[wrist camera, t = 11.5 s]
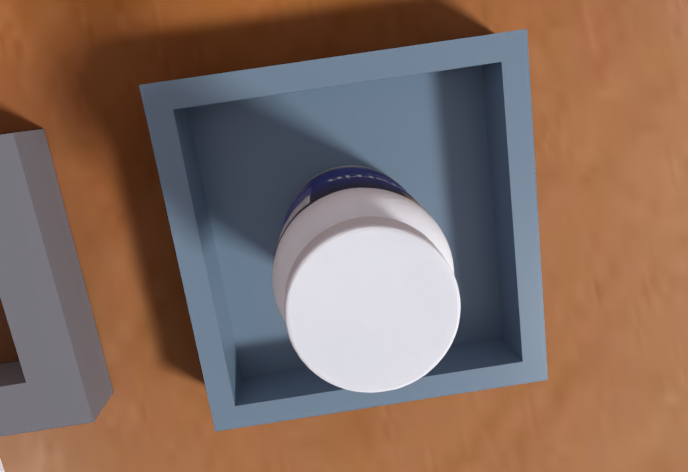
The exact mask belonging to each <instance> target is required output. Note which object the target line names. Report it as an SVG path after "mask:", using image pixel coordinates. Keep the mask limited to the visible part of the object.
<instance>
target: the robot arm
mask: <svg viewBox="0 0 688 472" xmlns="http://www.w3.org/2000/svg"><path fill="white" fill-rule="evenodd" d="M0 472H4V468H3V465H2V462H1V459H0Z"/></svg>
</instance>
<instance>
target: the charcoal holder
mask: <svg viewBox="0 0 688 472" xmlns="http://www.w3.org/2000/svg"><path fill="white" fill-rule="evenodd" d="M0 298H1V302H2V305H3V308H4V311H5V315H6V318H7V321H8V325H9V328H10V331H11V334H12V338H13V341H14V344H15V348H16V351H17V354H18V357H19V361H15V362H8V363H2V364H0V436H7V435H13V434H20V433H26V432H33V431H39V430H45V429H52V428H58V427H65V426H71V425H78V424H84V423H91V422H94V421H95V419H96V418H97V416H98V415H99V413H100V412H101V410H102V409H103V407H104V406H105V404H106V403H107V401H108V400H109V398H110V397H111V395H112V394H113V388H112V384H111V380H110V377H109V373H108V369H107V365H106V362H105V358H104V354H103V350H102V346H101V343H100V339H99V335H98V331H97V328H96V324H95V320H94V316H93V312H92V309H91V305H90V301H89V297H88V294H87V290H86V286H85V282H84V278H83V275H82V271H81V267H80V263H79V260H78V256H77V252H76V248H75V244H74V241H73V237H72V233H71V229H70V226H69V222H68V218H67V214H66V210H65V207H64V203H63V199H62V195H61V192H60V188H59V184H58V180H57V176H56V173H55V169H54V165H53V161H52V158H51V154H50V150H49V146H48V142H47V139H46V135H45V131H44V129H39V130H31V131H23V132H16V133H8V134H1V135H0Z"/></svg>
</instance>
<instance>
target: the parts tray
mask: <svg viewBox="0 0 688 472" xmlns="http://www.w3.org/2000/svg"><path fill="white" fill-rule="evenodd" d="M139 88H140V92H141V97H142V101H143V106H144V110H145V115H146V119H147V124H148V129H149V133H150V138H151V142H152V147H153V151H154V156H155V160H156V165H157V169H158V174H159V178H160V183H161V187H162V192H163V196H164V201H165V206H166V210H167V215H168V219H169V224H170V228H171V233H172V237H173V242H174V246H175V251H176V255H177V260H178V264H179V269H180V273H181V278H182V283H183V287H184V292H185V296H186V301H187V305H188V310H189V314H190V319H191V323H192V328H193V332H194V337H195V341H196V346H197V350H198V355H199V360H200V364H201V369H202V373H203V378H204V382H205V387H206V391H207V396H208V400H209V405H210V409H211V414H212V418H213V423H214V427H215V431H221V430H228V429H234V428H241V427H247V426H254V425H260V424H266V423H273V422H279V421H286V420H292V419H299V418H305V417H311V416H318V415H324V414H331V413H337V412H344V411H350V410H356V409H363V408H369V407H376V406H382V405H389V404H395V403H401V402H408V401H414V400H421V399H427V398H434V397H440V396H446V395H453V394H459V393H466V392H472V391H479V390H485V389H491V388H498V387H504V386H511V385H517V384H524V383H530V382H536V381H543V380H548V374H547V357H546V340H545V323H544V307H543V290H542V273H541V256H540V239H539V223H538V206H537V189H536V172H535V155H534V139H533V122H532V105H531V88H530V71H529V55H528V38H527V29H524V30H517V31H510V32H503V33H496V34H489V35H482V36H475V37H468V38H461V39H454V40H447V41H440V42H433V43H426V44H420V45H413V46H406V47H399V48H392V49H385V50H378V51H371V52H364V53H357V54H350V55H343V56H336V57H329V58H322V59H316V60H309V61H302V62H295V63H288V64H281V65H274V66H267V67H260V68H253V69H246V70H239V71H232V72H225V73H218V74H212V75H205V76H198V77H191V78H184V79H177V80H170V81H163V82H156V83H149V84H142V85H139ZM348 165H355V166H364V167H369V168H372V169H375V170H378V171H381V172H383V173H384V174H386V175H388V176H389V177H391V178H392V179H394V180H395V181H396V182H397V183H398V184H400V185H401V186H402V187H403V188H404V189H405V190H406V191H407V192H408V193H409V194H410V195H411V196H412V197H413V198H414V199H415V200H416V201H417V202H418V203H419V204H420V205H421V206H422V207H423V208H424V209H425V210H426V211H427V212H428V213H429V214H430V215H431V216H432V218H433V219H434V220H435V221H436V223H437V224H438V226H439V227H440V229H441V230H442V232H443V234H444V236H445V238H446V240H447V242H448V245H449V247H450V250H451V254H452V258H453V265H454V276H455V279H456V281H457V285H458V289H459V294H460V304H461V309H460V319H459V325H458V329H457V332H456V335H455V337H454V340H453V342H452V344H451V346H450V348H449V349H448V351H447V352H446V354H445V355H444V357H443V358H442V359H441V360H440V362H439V363H438V364H437V365H436V366H435V367H434V368H433V369H432V370H430V371H429V372H428V373H427V374H426V375H424V376H423V377H421V378H420V379H418V380H416V381H414V382H413V383H411V384H408V385H406V386H404V387H401V388H399V389H395V390H390V391H384V392H374V393H368V392H356V391H350V390H346V389H343V388H340V387H337V386H335V385H333V384H331V383H329V382H327V381H325V380H323V379H322V378H320V377H319V376H317V375H316V374H315V373H314V372H313V371H311V370H310V369H309V368H308V367H307V366H306V364H305V363H304V362H303V361H302V360H301V359H300V357H299V356H298V354H297V353H296V351H295V350H294V348H293V346H292V344H291V341H290V339H289V336H288V332H287V329H286V324H285V321H284V320H283V318H282V316H281V314H280V312H279V309H278V307H277V304H276V301H275V297H274V292H273V285H272V273H273V262H274V256H275V252H276V249H277V245H278V242H279V238H280V234H281V230H282V227H283V223H284V219H285V216H286V213H287V210H288V208H289V206H290V203H291V202H292V200H293V198H294V197H295V195H296V194H297V192H298V191H299V190H300V189H301V188H302V187H303V186H304V185H305V184H306V183H307V182H308V181H309V180H310V179H312V178H313V177H315V176H316V175H318V174H320V173H322V172H324V171H326V170H329V169H331V168H335V167H339V166H348Z"/></svg>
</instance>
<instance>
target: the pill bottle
mask: <svg viewBox="0 0 688 472" xmlns="http://www.w3.org/2000/svg"><path fill="white" fill-rule="evenodd" d="M272 285H273V292H274V297H275V301H276V304H277V307H278V309H279V312H280V314H281V316H282V318H283V320H284V321H285V324H286V329H287V332H288V336H289V339H290V341H291V344H292V346H293V348H294V350H295V351H296V353H297V354H298V356H299V357H300V359H301V360H302V361H303V362H304V363H305V364H306V366H307V367H308V368H309V369H310V370H311V371H313V372H314V373H315V374H316V375H317V376H319V377H320V378H322V379H323V380H325V381H327V382H329V383H331V384H333V385H335V386H337V387H340V388H343V389H346V390H350V391H356V392H368V393H374V392H384V391H390V390H395V389H399V388H401V387H404V386H406V385H408V384H411V383H413V382H414V381H416V380H418V379H420V378H421V377H423V376H424V375H426V374H427V373H428V372H429V371H430V370H432V369H433V368H434V367H435V366H436V365H437V364H438V363H439V362H440V360H441V359H442V358H443V357H444V355H445V354H446V352H447V351H448V349H449V348H450V346H451V344H452V342H453V340H454V337H455V335H456V332H457V329H458V325H459V319H460V309H461V304H460V294H459V289H458V285H457V281H456V279H455V276H454V265H453V258H452V254H451V250H450V247H449V245H448V242H447V240H446V238H445V236H444V234H443V232H442V230H441V229H440V227H439V226H438V224H437V223H436V221H435V220H434V219H433V218H432V216H431V215H430V214H429V213H428V212H427V211H426V210H425V209H424V208H423V207H422V206H421V205H420V204H419V203H418V202H417V201H416V200H415V199H414V198H413V197H412V196H411V195H410V194H409V193H408V192H407V191H406V190H405V189H404V188H403V187H402V186H401V185H400V184H398V183H397V182H396V181H395V180H394V179H392V178H391V177H389V176H388V175H386V174H384V173H383V172H381V171H378V170H375V169H372V168H369V167H364V166H355V165H348V166H339V167H335V168H331V169H329V170H326V171H324V172H322V173H320V174H318V175H316V176H315V177H313V178H312V179H310V180H309V181H308V182H307V183H306V184H305V185H304V186H303V187H302V188H301V189H300V190H299V191H298V192H297V194H296V195H295V197H294V198H293V200H292V202H291V203H290V206H289V208H288V210H287V213H286V216H285V219H284V223H283V227H282V230H281V234H280V238H279V242H278V245H277V249H276V252H275V256H274V262H273V273H272Z"/></svg>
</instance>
